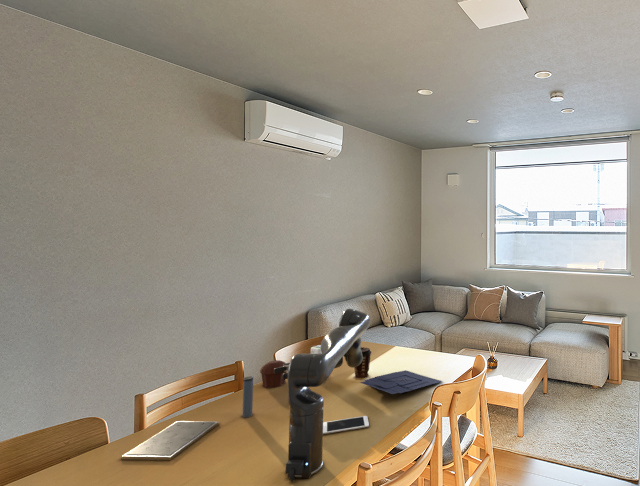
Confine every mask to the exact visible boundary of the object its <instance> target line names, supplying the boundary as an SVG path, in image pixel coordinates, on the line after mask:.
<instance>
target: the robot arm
mask: <svg viewBox="0 0 640 486" xmlns="http://www.w3.org/2000/svg"><path fill="white" fill-rule="evenodd" d="M370 324H371V318H370V315H368V314H367V313H366V312H363V311H360V310H357V309H353V308H346V309H344V311H343V312H342V313H341V316H340V318H339V322H338V326H336V327H334V328H333V329H331V330H330V331H329V332H328V333H327V334H326V335H325V336H324V337H323V338H322V340H321V342H320V345H321V352H322V353H321V354H311V353H296V354H295V355H293V356H292V357H291V359H290V361H289V362H285V363H286V364H283V366H282V367H278V368H275V369H274V374H278V373H282V372H287V373H284V374H283V377H282V378H283V379H284V380H285V381H286V380H287V401H288V407H289V417H288V418H289V420H288V422H289V423H288V449H287V450H288V451H287V453H288V454H287V457H288V458H287V461H286V463H285V474H286V475H287V478H288V479H290V481H291V482H294V481H295V480H296V479H310V478H311V476H313V475H315V474H316V473H318V472H320V471H321V469H322V468H323V464H324V461H323V455H324V454H323V453H324V452H323V450H324V448H323V447H324V446H323V444H324V443H323V442H324V434H323V422H324V407H325V406H324V400H325V399H324V397H323V396H322V395H321V394H320V393H317V392H315V391H313V390H312V389H310V388H318V387H321V386H323V385H324V384H325V383H327V381H328V379H329V378H330V377H331V375H332V373H333V371H334V369H338V368H341V367H342V366H343V364H344V361H345V362H346V365H347V366H348V367H349V368H351V369H352V368H353V369H354V367H357V366H359V365H360V364H361V362H362V360H363V356H362V351H361V347H362V336H363V335H364V334H365V333H366V331H367V330H368V329H369V327H370ZM287 367H288V368H287Z"/></svg>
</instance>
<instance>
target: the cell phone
mask: <svg viewBox="0 0 640 486" xmlns="http://www.w3.org/2000/svg"><path fill="white" fill-rule="evenodd" d="M369 427H370V422H369V419H368V415H362V416H356V417H348V418H343V419H337V420H330V421H323V435H327V434H333V433H339V432H345V431H346V432H347V431H353V430H358V429H364V428H369Z"/></svg>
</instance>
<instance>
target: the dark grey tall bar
mask: <svg viewBox="0 0 640 486" xmlns="http://www.w3.org/2000/svg"><path fill="white" fill-rule="evenodd" d="M242 383H243V384H242V418H249V417H251V416H253V405H254V404H253V401H254V376H251V375H250V376H245V377H243V380H242Z"/></svg>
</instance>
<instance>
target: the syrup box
mask: <svg viewBox="0 0 640 486" xmlns="http://www.w3.org/2000/svg"><path fill="white" fill-rule="evenodd" d="M321 353H322V352H321V344H318V345H313V346H312V347H310V354H321Z"/></svg>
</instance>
